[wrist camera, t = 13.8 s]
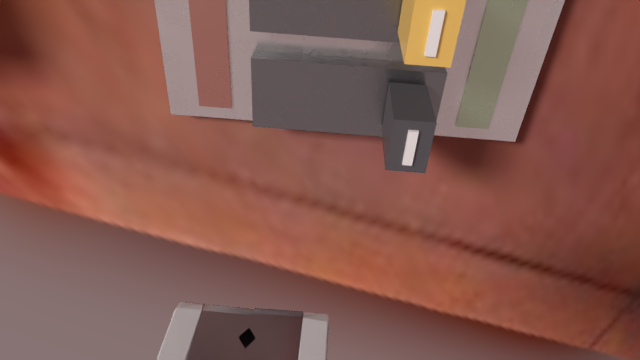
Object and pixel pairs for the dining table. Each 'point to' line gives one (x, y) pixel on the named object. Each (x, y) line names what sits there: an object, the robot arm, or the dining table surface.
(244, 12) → the panel
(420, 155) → the breaker
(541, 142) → the dining table surface
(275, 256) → the dining table surface
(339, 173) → the dining table surface
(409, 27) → the breaker
